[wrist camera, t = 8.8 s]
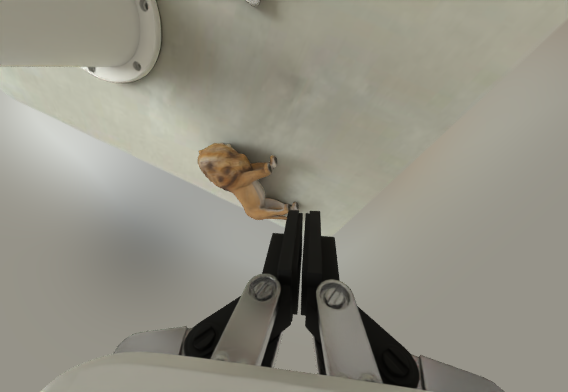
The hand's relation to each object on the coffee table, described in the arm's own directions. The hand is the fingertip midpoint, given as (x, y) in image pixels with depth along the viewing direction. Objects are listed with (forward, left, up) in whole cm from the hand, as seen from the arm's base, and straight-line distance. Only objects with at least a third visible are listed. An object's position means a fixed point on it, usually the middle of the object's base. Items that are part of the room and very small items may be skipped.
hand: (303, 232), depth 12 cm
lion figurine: (-3, -4, -14) cm, 15 cm away
